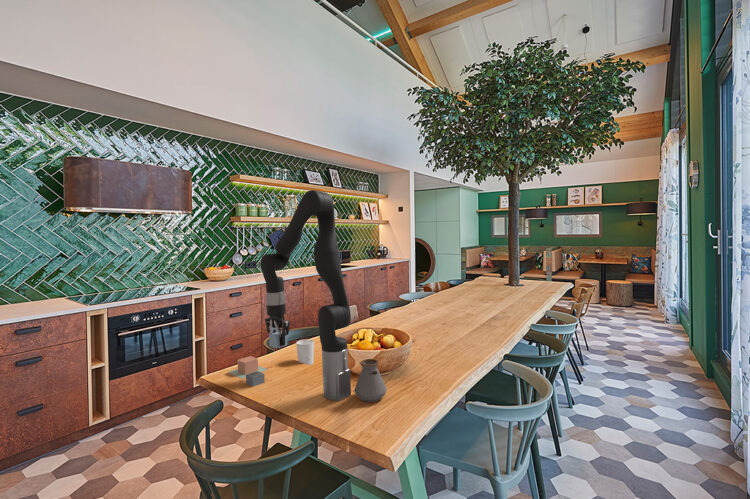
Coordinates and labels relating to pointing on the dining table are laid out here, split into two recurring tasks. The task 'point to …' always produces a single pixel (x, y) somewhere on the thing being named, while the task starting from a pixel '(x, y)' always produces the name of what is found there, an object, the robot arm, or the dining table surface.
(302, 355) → the white cup
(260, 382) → the slate brick
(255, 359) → the base brick
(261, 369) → the build plate
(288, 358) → the dining table surface
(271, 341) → the blue brick
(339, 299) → the robot arm
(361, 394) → the coffee pot
